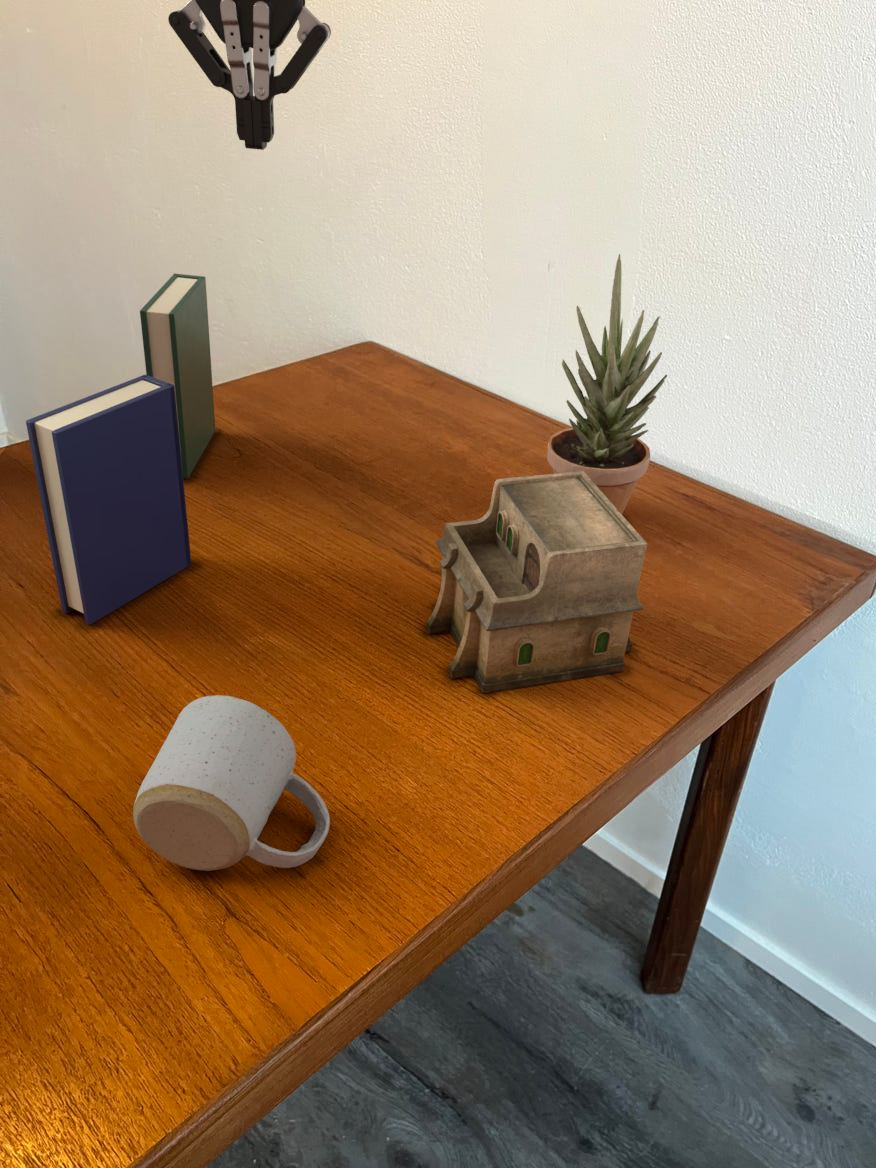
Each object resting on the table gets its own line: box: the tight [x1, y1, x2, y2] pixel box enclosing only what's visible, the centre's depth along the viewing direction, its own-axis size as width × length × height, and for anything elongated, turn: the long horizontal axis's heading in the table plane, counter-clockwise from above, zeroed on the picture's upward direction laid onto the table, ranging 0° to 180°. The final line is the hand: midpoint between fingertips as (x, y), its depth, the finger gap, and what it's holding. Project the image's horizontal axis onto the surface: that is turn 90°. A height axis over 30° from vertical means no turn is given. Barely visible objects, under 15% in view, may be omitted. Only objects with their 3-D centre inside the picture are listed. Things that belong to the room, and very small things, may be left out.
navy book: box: [25, 374, 192, 626], centre depth 77 cm, size 16×11×3 cm
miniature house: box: [426, 471, 648, 694], centre depth 78 cm, size 15×14×11 cm
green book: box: [139, 273, 216, 480], centre depth 97 cm, size 16×11×3 cm
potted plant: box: [546, 253, 668, 515], centre depth 90 cm, size 10×10×25 cm
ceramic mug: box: [132, 694, 331, 872], centre depth 60 cm, size 11×8×8 cm
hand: (256, 147), depth 85 cm, fingers closed
